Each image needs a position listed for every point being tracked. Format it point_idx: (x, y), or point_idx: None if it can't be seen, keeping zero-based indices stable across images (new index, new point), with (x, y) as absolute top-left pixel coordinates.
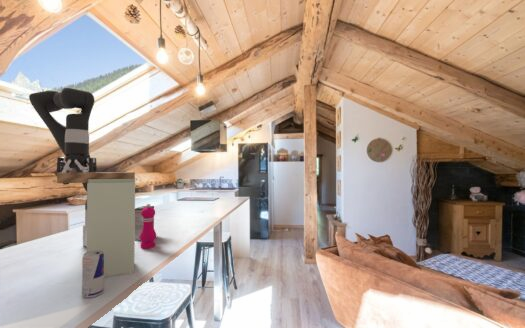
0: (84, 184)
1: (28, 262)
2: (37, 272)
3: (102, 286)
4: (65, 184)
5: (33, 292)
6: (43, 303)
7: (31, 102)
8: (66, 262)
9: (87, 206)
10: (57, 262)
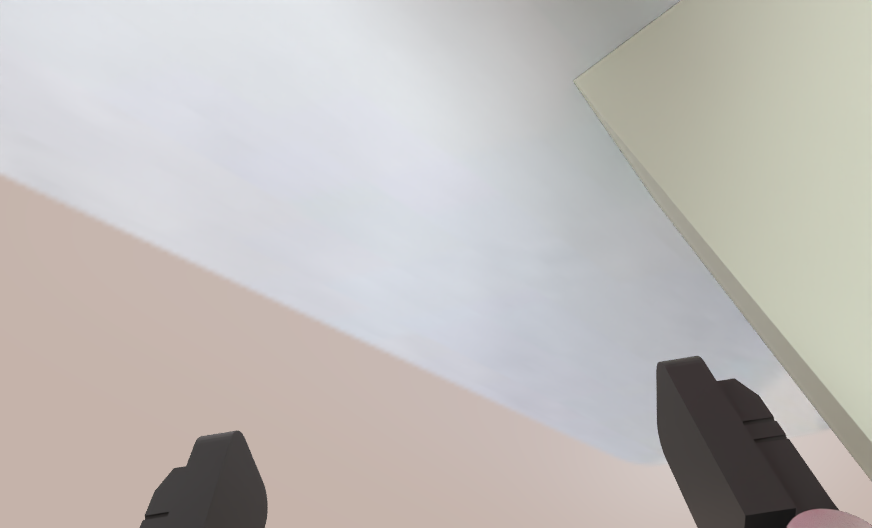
0: (669, 446)
1: (87, 110)
2: (322, 202)
3: None
4: (261, 483)
5: (532, 340)
6: (651, 380)
7: None
8: (319, 43)
9: None
10: (263, 59)
